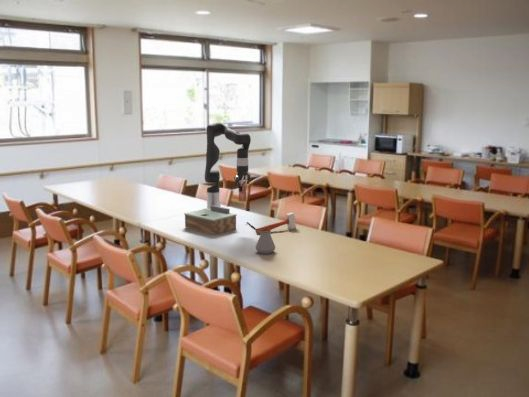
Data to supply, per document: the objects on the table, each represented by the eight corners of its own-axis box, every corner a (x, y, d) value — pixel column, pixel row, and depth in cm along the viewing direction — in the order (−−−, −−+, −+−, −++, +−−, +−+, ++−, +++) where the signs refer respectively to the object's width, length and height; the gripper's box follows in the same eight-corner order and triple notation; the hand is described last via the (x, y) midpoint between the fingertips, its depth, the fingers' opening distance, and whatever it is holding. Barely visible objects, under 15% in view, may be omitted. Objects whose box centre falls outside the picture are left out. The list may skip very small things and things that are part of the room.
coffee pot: (279, 252, 302) (279, 226, 299) (265, 256, 294) (265, 230, 291) (253, 244, 316) (253, 220, 313) (239, 248, 308) (239, 223, 305)
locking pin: (242, 200, 347) (242, 182, 344) (246, 201, 344) (246, 183, 342) (238, 201, 344) (238, 183, 342) (242, 202, 342) (242, 183, 339)
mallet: (257, 225, 337) (294, 212, 352) (254, 224, 340) (291, 211, 355) (259, 241, 340) (296, 227, 355) (256, 239, 343) (293, 226, 358)
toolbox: (206, 222, 370) (206, 209, 368) (236, 229, 352) (236, 215, 350) (185, 227, 355) (184, 214, 353) (214, 235, 337) (214, 221, 335)
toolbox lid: (207, 209, 368) (207, 204, 367) (236, 215, 350) (236, 209, 350) (184, 214, 352) (184, 208, 352) (213, 221, 335) (213, 215, 334)
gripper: (245, 163, 347) (245, 188, 350) (230, 165, 337) (230, 191, 340) (254, 164, 342) (254, 190, 346) (239, 166, 332) (239, 193, 335)
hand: (242, 190), depth 343 cm, fingers closed on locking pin, 3 cm apart
